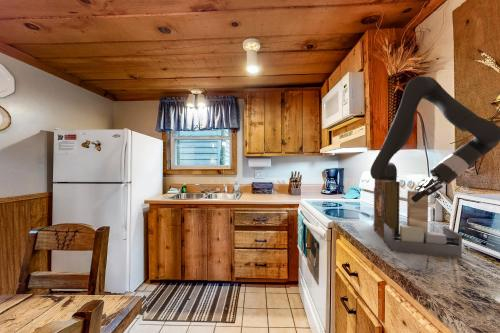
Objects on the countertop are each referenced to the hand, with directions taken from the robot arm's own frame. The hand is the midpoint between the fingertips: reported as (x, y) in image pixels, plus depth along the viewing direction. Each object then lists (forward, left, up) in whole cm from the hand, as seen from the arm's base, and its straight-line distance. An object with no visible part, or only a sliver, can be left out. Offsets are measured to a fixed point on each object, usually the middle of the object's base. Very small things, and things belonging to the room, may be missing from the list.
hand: (411, 199), depth 96 cm
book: (-14, -6, -19) cm, 24 cm away
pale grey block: (+5, +6, -19) cm, 20 cm away
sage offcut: (+5, -1, -19) cm, 19 cm away
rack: (+2, +2, -18) cm, 19 cm away
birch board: (0, +2, -18) cm, 19 cm away
